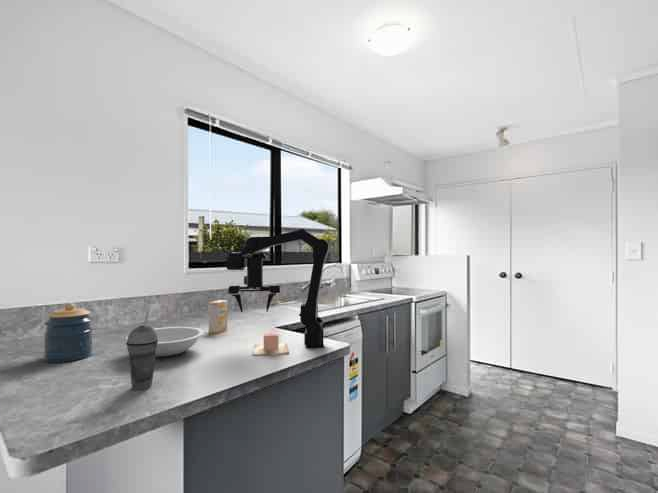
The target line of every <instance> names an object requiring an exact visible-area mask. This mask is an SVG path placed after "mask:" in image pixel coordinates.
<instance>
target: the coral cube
mask: <svg viewBox="0 0 658 493" xmlns="http://www.w3.org/2000/svg"><path fill="white" fill-rule="evenodd" d="M263 344H264V350H278V344H279V332H278V331H276V332H275V331H274V332H263Z"/></svg>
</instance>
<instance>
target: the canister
mask: <svg viewBox="0 0 658 493" xmlns="http://www.w3.org/2000/svg"><path fill="white" fill-rule="evenodd" d="M90 314H91V311H89V310H87V309H86V308H84V307H75V304H74V303H72V302H68V303H66V304H65V305H64V308H61V309H55V310H53V311H52V312H50V313H49V314H47V318H48V319H47V320H45V321H44V322H43V325H44V326H45V331H44V332H43V335H44V337H43V340H44V342H43V355H42V357H43V360H44V362H45V363H46V362H47V363H66V362H72V361H77V360H82V359H85V358H88V357H90V356H91V355H92V352H93V348H94V347H93V330H94V328H93V327H92V322H93V321H94V318H93V317H92V316H90Z"/></svg>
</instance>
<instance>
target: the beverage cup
mask: <svg viewBox="0 0 658 493" xmlns="http://www.w3.org/2000/svg"><path fill="white" fill-rule="evenodd" d="M149 310H150V309H149V308H146V312H145V320H144V325H139V326H136V327H135V328H133V329H132V330H131V331H130V332H129V334H128V335H127V336H128V338H127V342H126V343H125V345H126V348H127V353H128V358H129V359H128V360H129V375H130V384H131V390H132V391H144V390H148V389H150V388H151V387H152V385H153V379H154V372H155V371H154V370H155V362H156V356H155V352H156V348H157V342H158V338H157V334H156V332H155V330H154V329H155V328H153V327H151V326H149V325H148V318H149V317H148V316H149Z"/></svg>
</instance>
